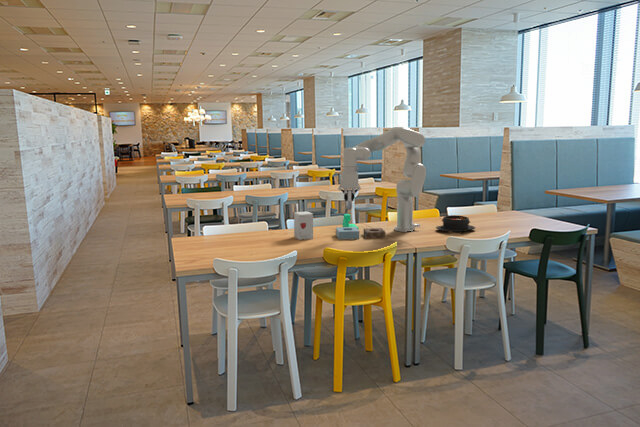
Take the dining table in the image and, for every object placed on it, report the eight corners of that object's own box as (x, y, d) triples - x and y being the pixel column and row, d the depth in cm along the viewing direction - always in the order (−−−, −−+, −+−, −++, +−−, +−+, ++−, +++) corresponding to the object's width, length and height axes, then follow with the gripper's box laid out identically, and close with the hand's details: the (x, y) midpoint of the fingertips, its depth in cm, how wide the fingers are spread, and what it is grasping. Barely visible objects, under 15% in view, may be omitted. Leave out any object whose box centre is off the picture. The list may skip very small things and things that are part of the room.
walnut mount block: (381, 233, 295) (381, 228, 295) (385, 237, 285) (385, 232, 284) (363, 234, 294) (363, 228, 294) (366, 238, 284) (366, 232, 283)
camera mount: (358, 231, 302) (358, 215, 300) (346, 232, 301) (346, 215, 299) (354, 227, 313) (354, 212, 312) (342, 228, 312) (342, 212, 310)
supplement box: (298, 240, 280) (298, 214, 277) (293, 236, 288) (293, 212, 286) (313, 238, 283) (313, 213, 281) (308, 235, 292) (308, 210, 289)
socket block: (356, 234, 295) (356, 226, 294) (359, 238, 283) (359, 231, 282) (336, 234, 294) (336, 227, 293) (338, 239, 282) (338, 231, 281)
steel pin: (351, 207, 287) (351, 189, 285) (352, 208, 284) (352, 190, 282) (346, 207, 286) (346, 189, 284) (346, 208, 283) (347, 190, 281)
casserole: (464, 226, 315) (465, 213, 314) (481, 232, 298) (482, 219, 296) (429, 229, 308) (430, 215, 307) (445, 235, 291) (446, 221, 289)
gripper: (362, 168, 285) (361, 199, 289) (334, 168, 284) (334, 199, 287) (365, 169, 278) (364, 201, 281) (336, 169, 276) (336, 201, 280)
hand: (349, 200), depth 284 cm, fingers closed on steel pin, 3 cm apart
